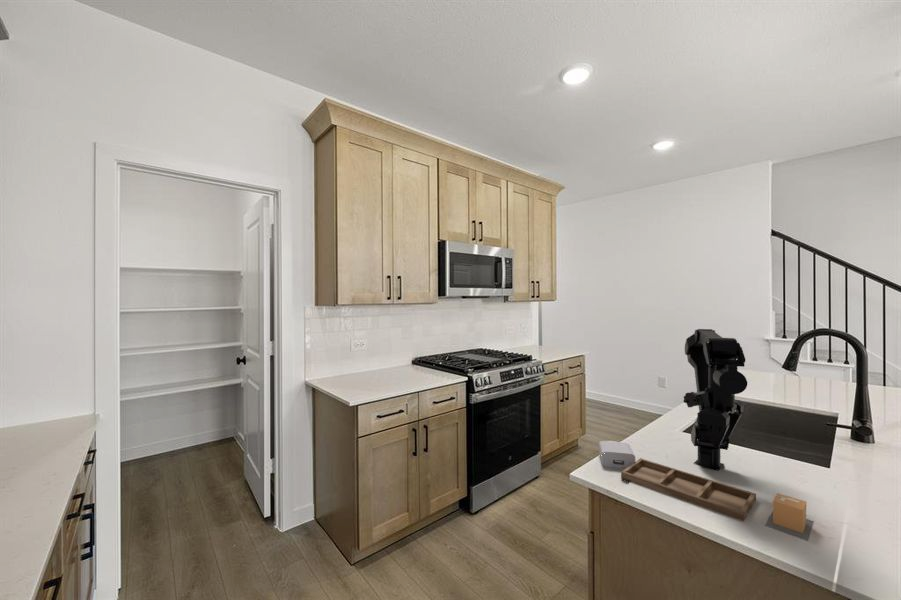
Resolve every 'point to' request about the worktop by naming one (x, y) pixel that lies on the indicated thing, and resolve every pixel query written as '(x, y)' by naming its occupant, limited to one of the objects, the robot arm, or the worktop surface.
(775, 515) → the letter cube
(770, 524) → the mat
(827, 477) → the worktop surface
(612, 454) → the charger
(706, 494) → the organiser
